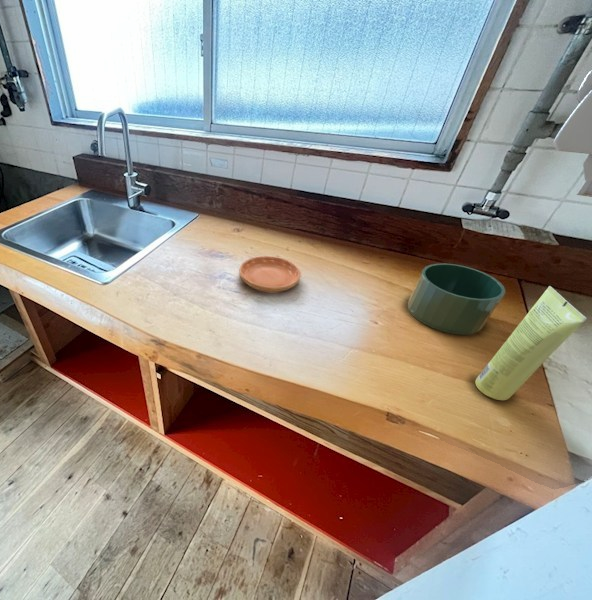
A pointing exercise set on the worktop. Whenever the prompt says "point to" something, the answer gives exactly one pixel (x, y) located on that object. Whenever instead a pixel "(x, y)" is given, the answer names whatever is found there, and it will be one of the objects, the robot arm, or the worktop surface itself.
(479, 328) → the vessel
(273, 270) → the saucer
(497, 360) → the tube
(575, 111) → the robot arm
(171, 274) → the worktop surface
